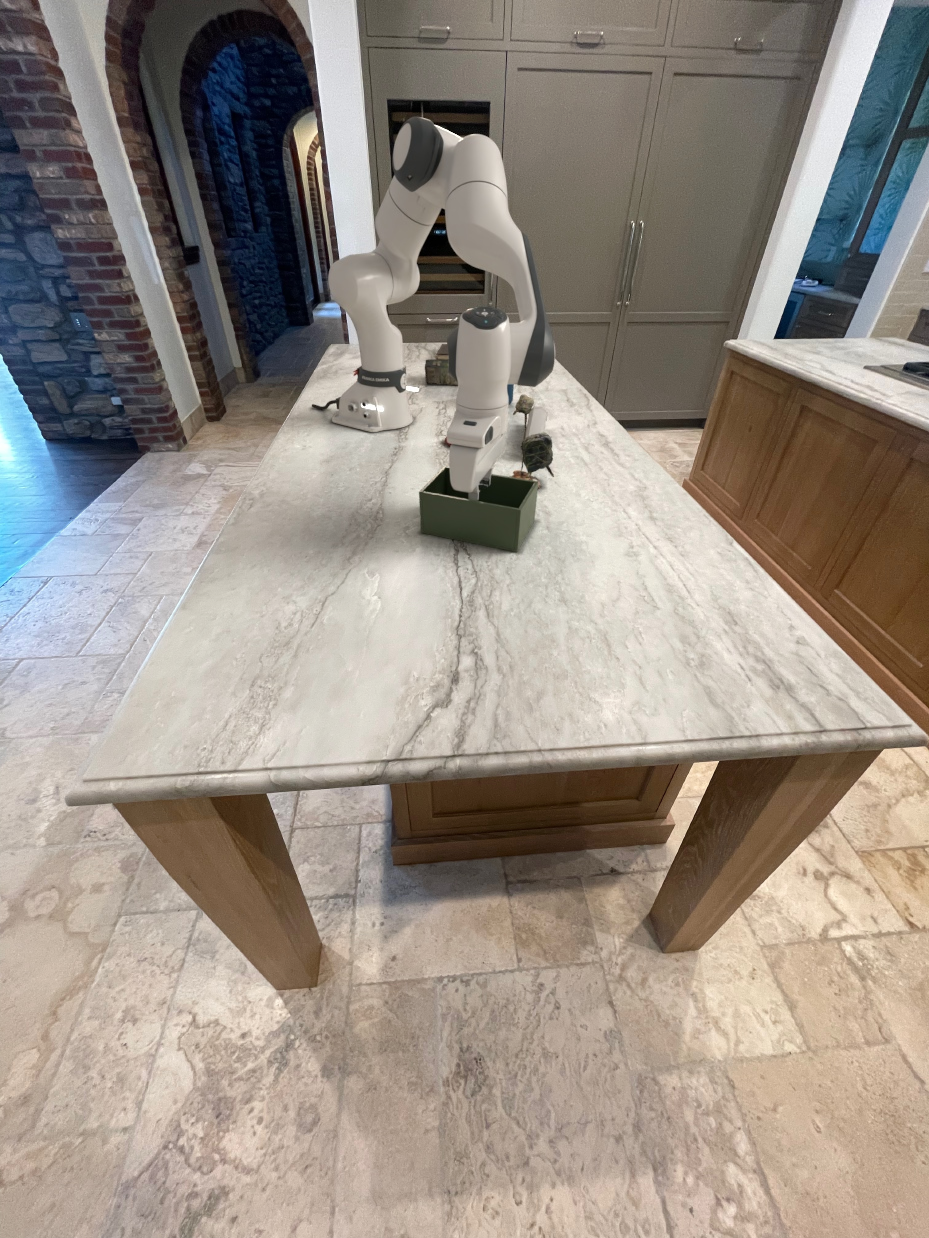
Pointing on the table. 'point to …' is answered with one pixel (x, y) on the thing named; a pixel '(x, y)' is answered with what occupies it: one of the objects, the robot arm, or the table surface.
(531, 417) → the white square bar
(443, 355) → the hardcover book
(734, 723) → the table surface
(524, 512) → the bin
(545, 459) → the plant with pod
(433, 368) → the juice carton
